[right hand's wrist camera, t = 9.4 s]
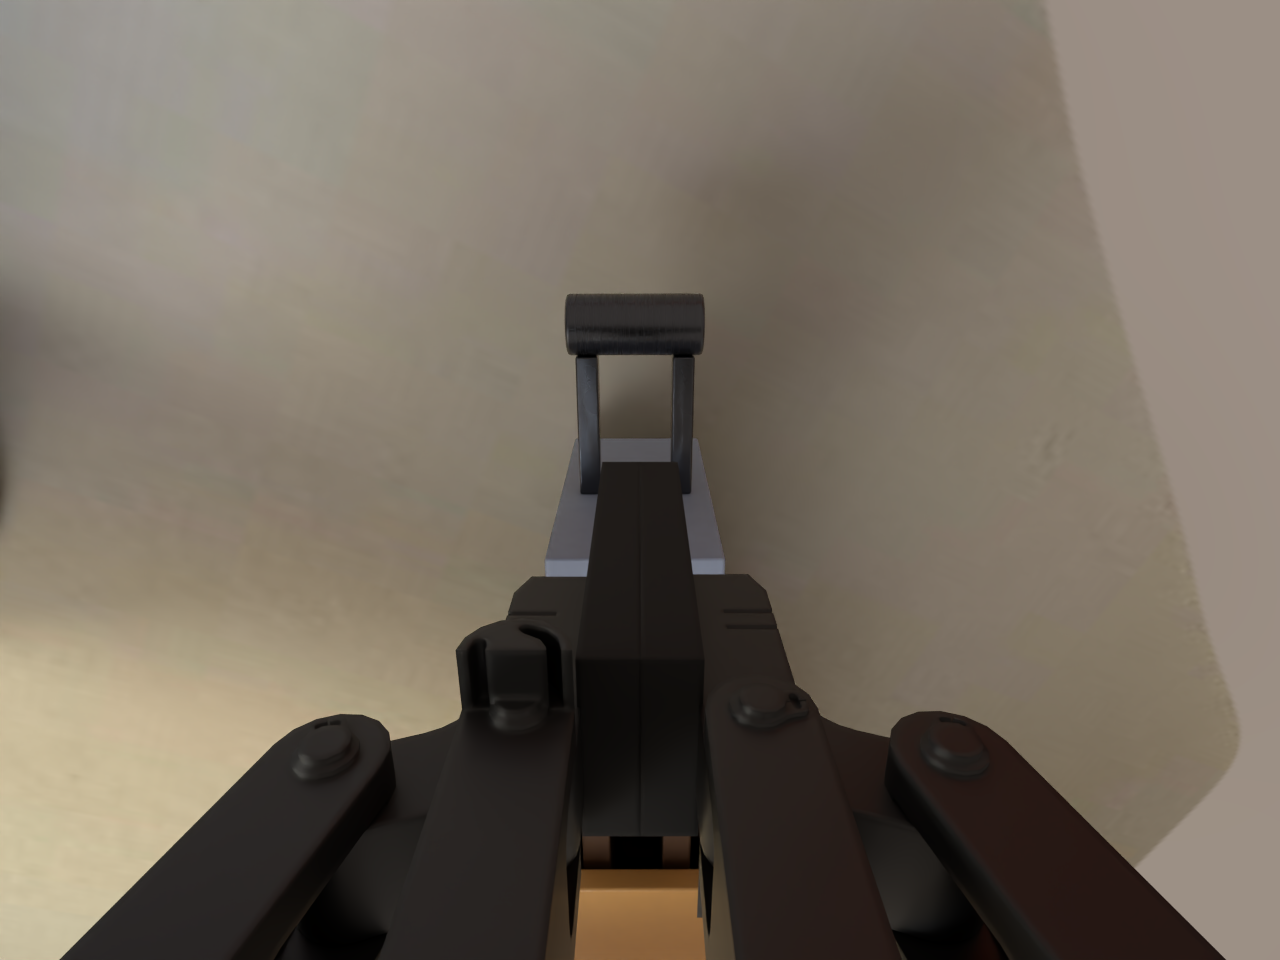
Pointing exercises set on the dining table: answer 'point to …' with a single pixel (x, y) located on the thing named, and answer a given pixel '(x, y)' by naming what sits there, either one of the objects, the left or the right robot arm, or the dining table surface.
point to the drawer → (633, 331)
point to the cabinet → (640, 913)
